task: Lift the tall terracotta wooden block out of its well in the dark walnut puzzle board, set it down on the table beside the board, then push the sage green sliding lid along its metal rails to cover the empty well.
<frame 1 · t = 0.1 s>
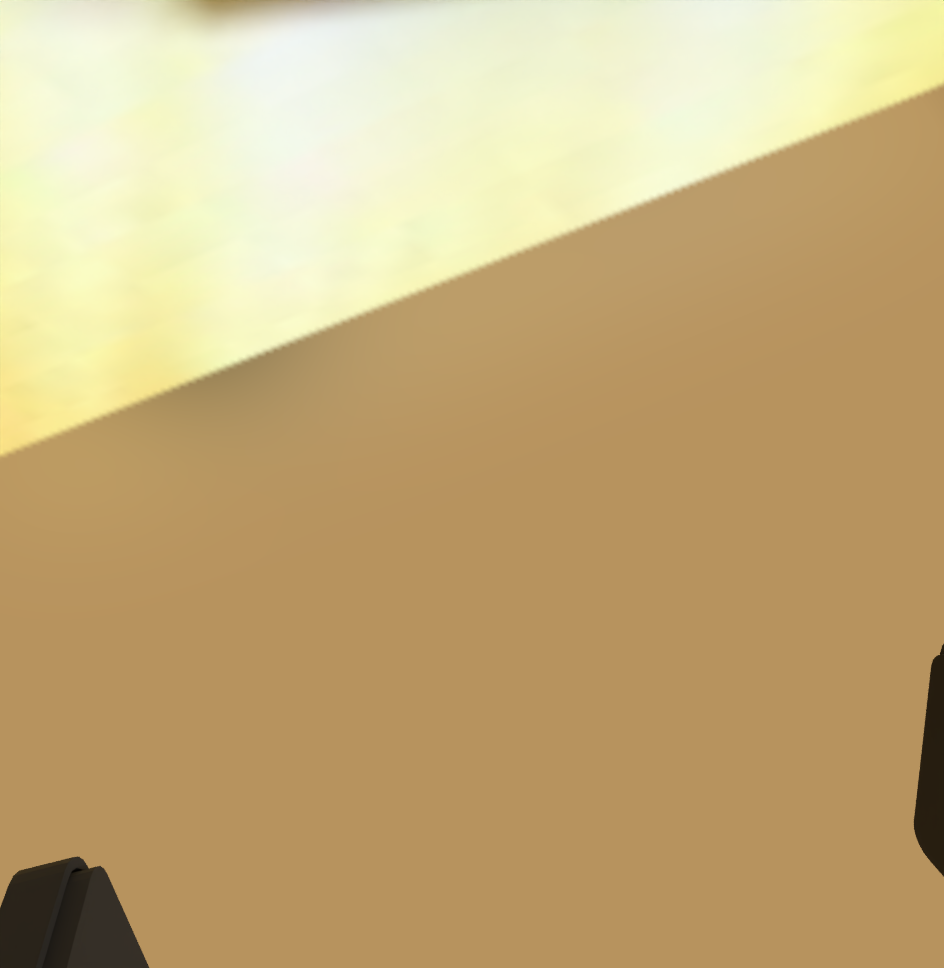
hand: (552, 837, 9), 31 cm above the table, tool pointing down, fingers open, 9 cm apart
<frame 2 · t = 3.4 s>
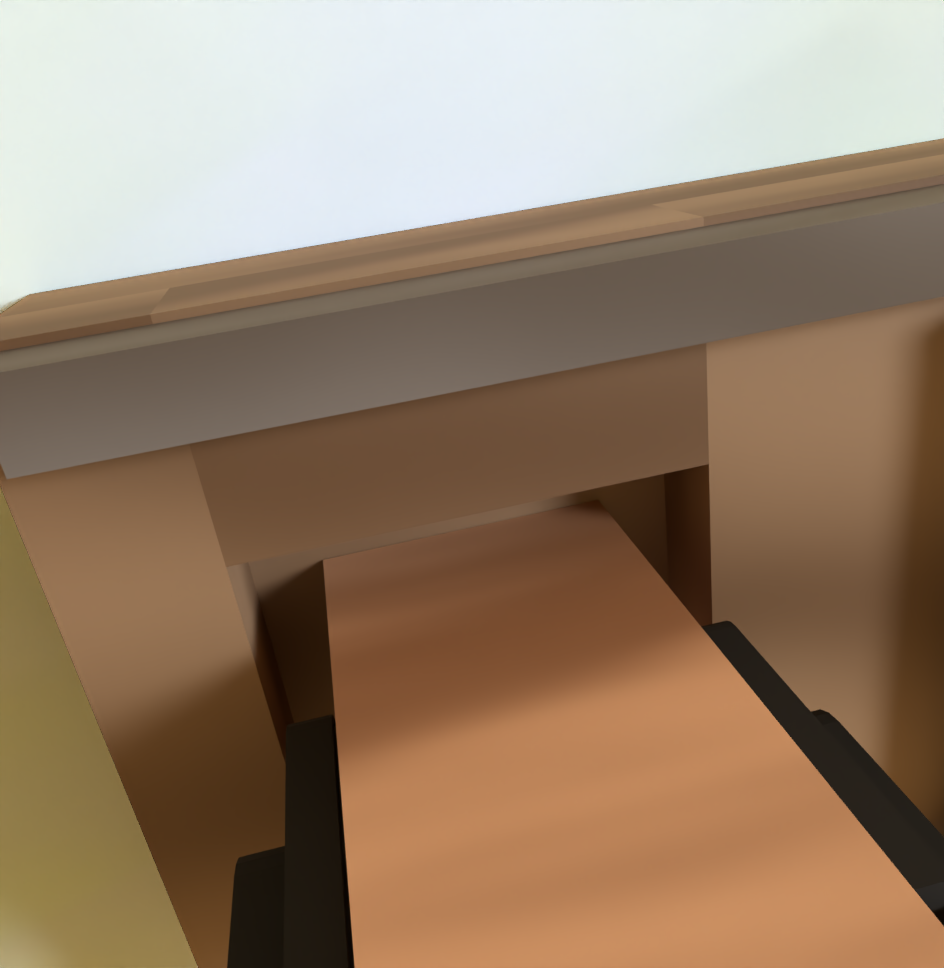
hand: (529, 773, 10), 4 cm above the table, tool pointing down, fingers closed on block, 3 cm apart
block: (482, 644, 13), point 2 cm above the table, touching gripper, puzzle board
puzzle board: (796, 522, 15), on the table
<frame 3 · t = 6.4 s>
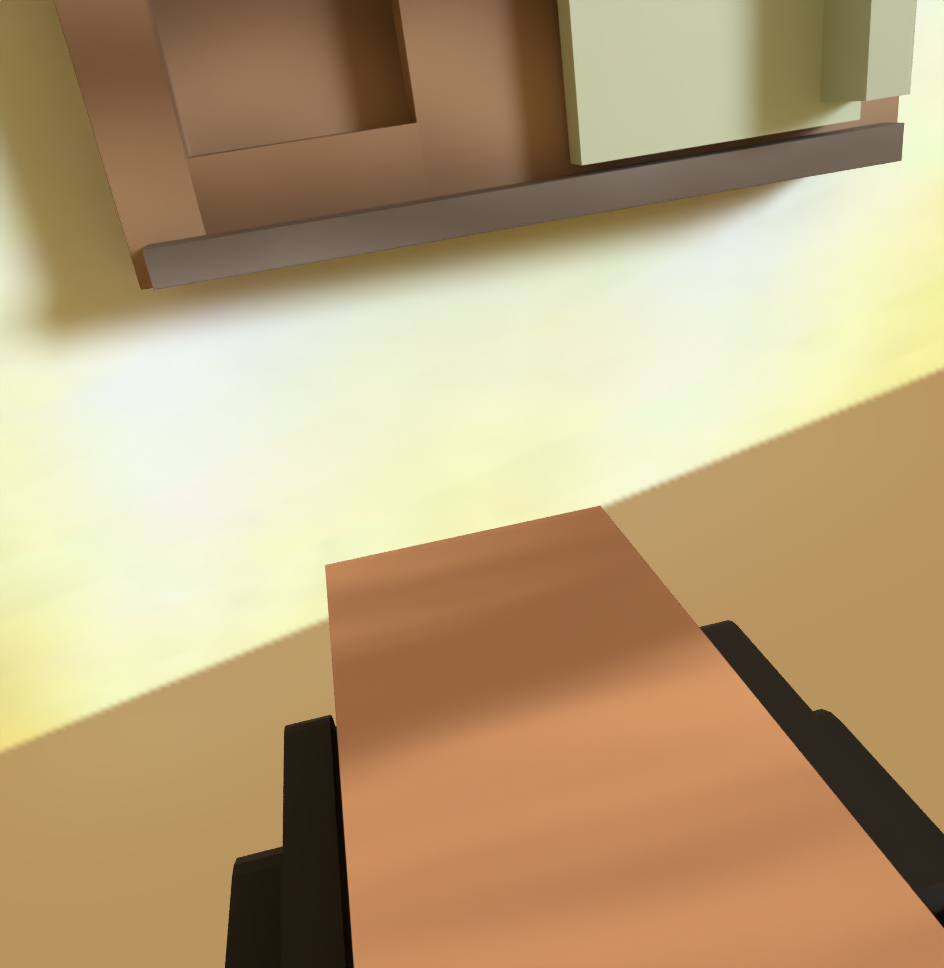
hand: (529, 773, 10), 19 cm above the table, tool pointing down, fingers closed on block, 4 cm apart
block: (484, 650, 13), point 16 cm above the table, touching gripper
when the fingers open (4 cm above the table, at t = 9.4 s): block drops 2 cm, on the table.
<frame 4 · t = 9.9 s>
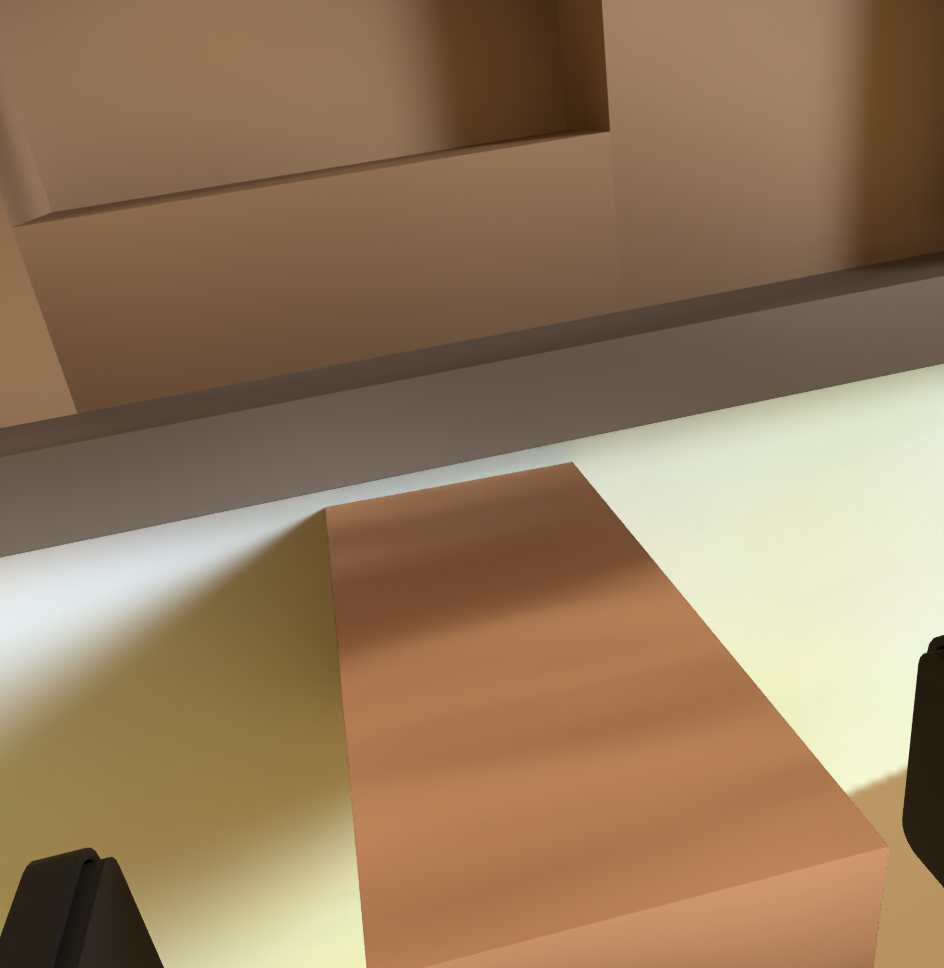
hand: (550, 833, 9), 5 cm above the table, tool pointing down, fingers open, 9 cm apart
block: (465, 591, 14), on the table
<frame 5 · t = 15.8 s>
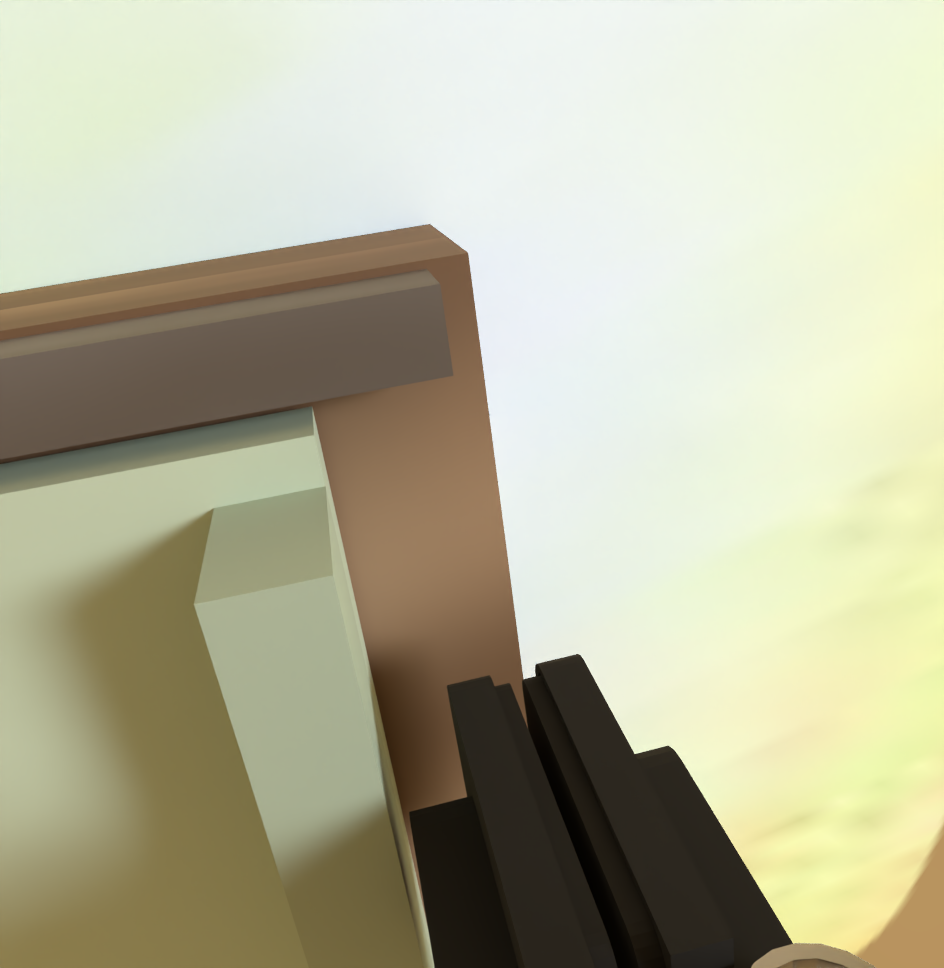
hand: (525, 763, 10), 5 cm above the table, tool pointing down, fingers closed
lid: (56, 876, 10), point 5 cm above the table, slide at 0.1 cm, touching gripper
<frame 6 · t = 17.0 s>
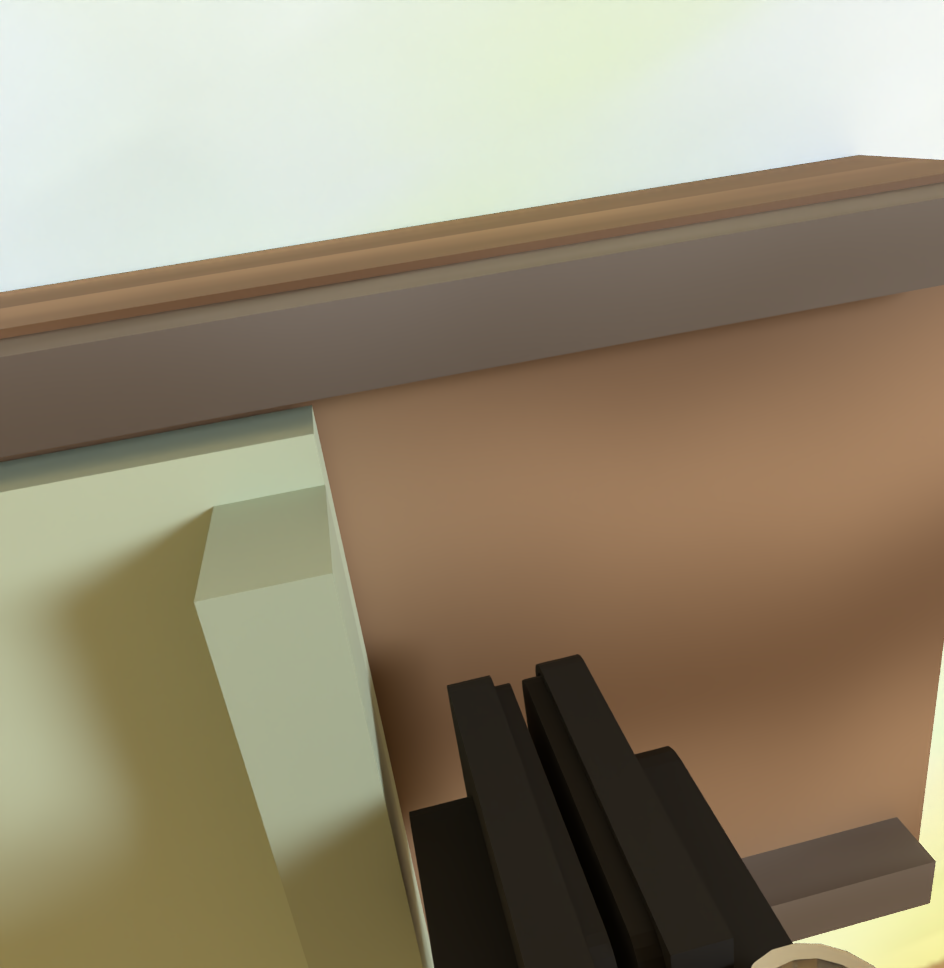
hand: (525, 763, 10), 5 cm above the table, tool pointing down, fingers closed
puzzle board: (245, 623, 14), on the table
lid: (55, 874, 10), point 5 cm above the table, slide at 7.0 cm, touching gripper
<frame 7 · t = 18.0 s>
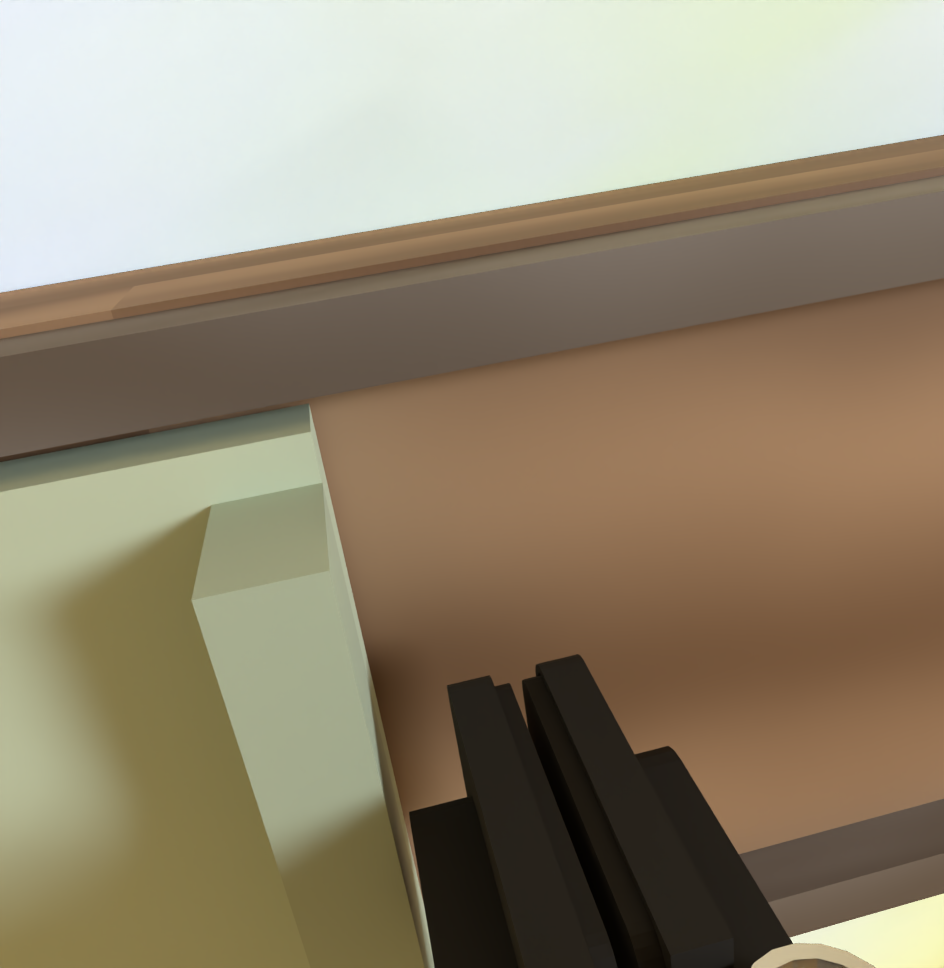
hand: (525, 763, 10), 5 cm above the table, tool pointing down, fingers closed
puzzle board: (426, 582, 15), on the table
lid: (57, 872, 10), point 5 cm above the table, slide at 10.1 cm, touching gripper
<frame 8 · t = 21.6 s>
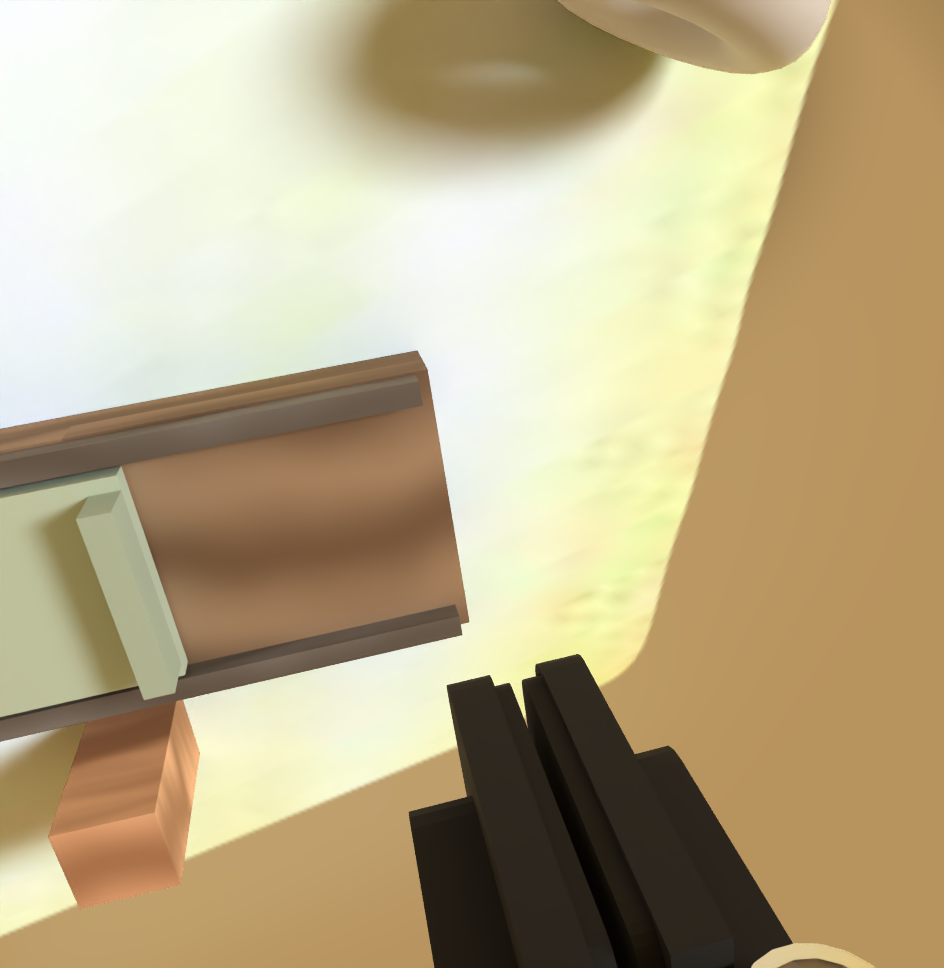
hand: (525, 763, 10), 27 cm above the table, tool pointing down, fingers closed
block: (147, 730, 41), on the table
puzzle board: (194, 528, 37), on the table
lid: (44, 610, 32), point 5 cm above the table, slide at 10.2 cm
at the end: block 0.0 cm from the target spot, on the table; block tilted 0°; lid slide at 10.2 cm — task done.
